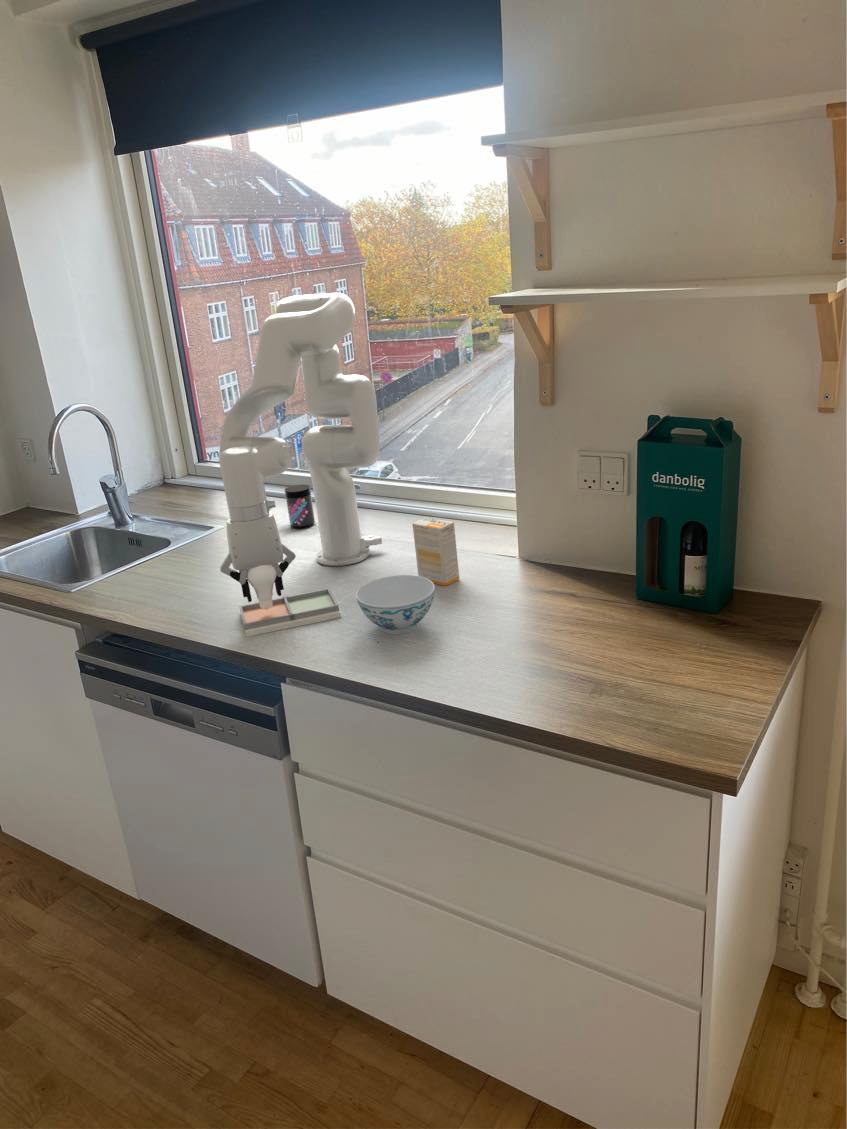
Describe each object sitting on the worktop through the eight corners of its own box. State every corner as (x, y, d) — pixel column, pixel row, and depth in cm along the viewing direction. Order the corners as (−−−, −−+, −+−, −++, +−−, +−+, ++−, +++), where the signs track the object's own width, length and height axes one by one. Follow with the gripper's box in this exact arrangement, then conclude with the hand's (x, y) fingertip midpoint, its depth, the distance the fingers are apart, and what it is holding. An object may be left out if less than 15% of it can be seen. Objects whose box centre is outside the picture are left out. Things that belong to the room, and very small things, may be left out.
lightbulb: (256, 618, 172) (248, 566, 168) (247, 608, 177) (239, 557, 173) (286, 610, 174) (278, 559, 170) (276, 600, 180) (269, 550, 176)
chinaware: (345, 628, 169) (340, 592, 166) (407, 603, 177) (403, 568, 174) (390, 652, 158) (385, 613, 155) (454, 625, 166) (450, 587, 163)
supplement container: (285, 526, 233) (279, 489, 229) (306, 519, 237) (301, 483, 233) (299, 531, 228) (293, 493, 224) (320, 524, 232) (314, 486, 228)
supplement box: (460, 579, 187) (455, 521, 182) (445, 587, 183) (440, 528, 179) (432, 572, 192) (426, 516, 187) (417, 579, 189) (411, 522, 184)
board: (329, 595, 185) (328, 586, 184) (341, 617, 174) (339, 607, 173) (240, 613, 181) (238, 604, 180) (246, 636, 170) (244, 626, 169)
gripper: (289, 498, 173) (303, 581, 180) (202, 513, 169) (220, 598, 176) (295, 508, 167) (309, 594, 173) (205, 524, 163) (222, 612, 169)
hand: (264, 595), depth 175 cm, fingers closed on lightbulb, 5 cm apart
